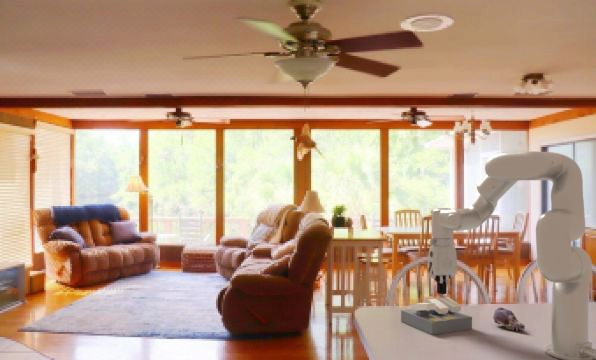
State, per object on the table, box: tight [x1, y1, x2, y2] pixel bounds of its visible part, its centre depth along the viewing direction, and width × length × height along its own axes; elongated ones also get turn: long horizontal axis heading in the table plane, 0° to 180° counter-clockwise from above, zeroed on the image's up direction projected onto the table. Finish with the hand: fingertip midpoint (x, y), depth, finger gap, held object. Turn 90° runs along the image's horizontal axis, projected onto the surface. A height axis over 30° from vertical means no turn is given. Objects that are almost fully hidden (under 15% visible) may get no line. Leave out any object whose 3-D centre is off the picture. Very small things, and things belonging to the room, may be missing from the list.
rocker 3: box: [435, 294, 462, 313], centre depth 184 cm, size 9×4×2 cm, turn 25°
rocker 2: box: [422, 295, 449, 314], centre depth 181 cm, size 9×4×2 cm, turn 24°
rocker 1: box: [410, 302, 436, 310], centre depth 179 cm, size 9×4×2 cm, turn 24°
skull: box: [492, 307, 526, 332], centre depth 178 cm, size 12×8×6 cm, turn 12°
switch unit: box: [400, 308, 473, 336], centre depth 181 cm, size 17×17×5 cm
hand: (441, 293), depth 187 cm, fingers closed
